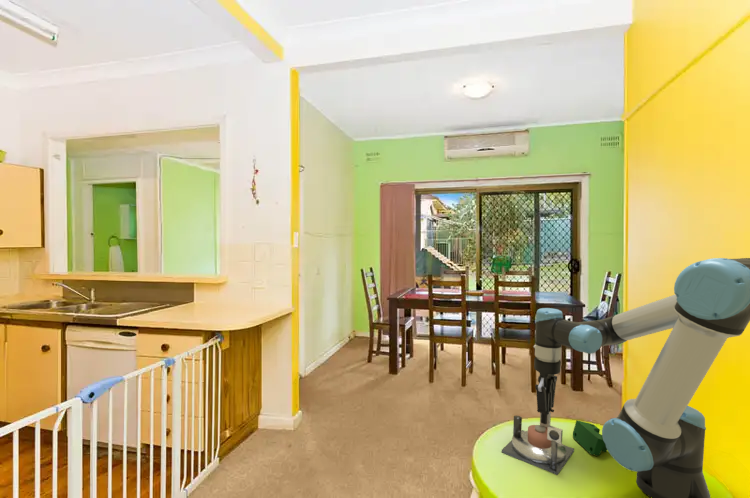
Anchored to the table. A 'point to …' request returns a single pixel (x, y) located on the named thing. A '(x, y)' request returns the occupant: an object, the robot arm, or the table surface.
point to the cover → (538, 436)
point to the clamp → (589, 437)
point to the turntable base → (540, 465)
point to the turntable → (530, 450)
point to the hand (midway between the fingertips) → (544, 432)
